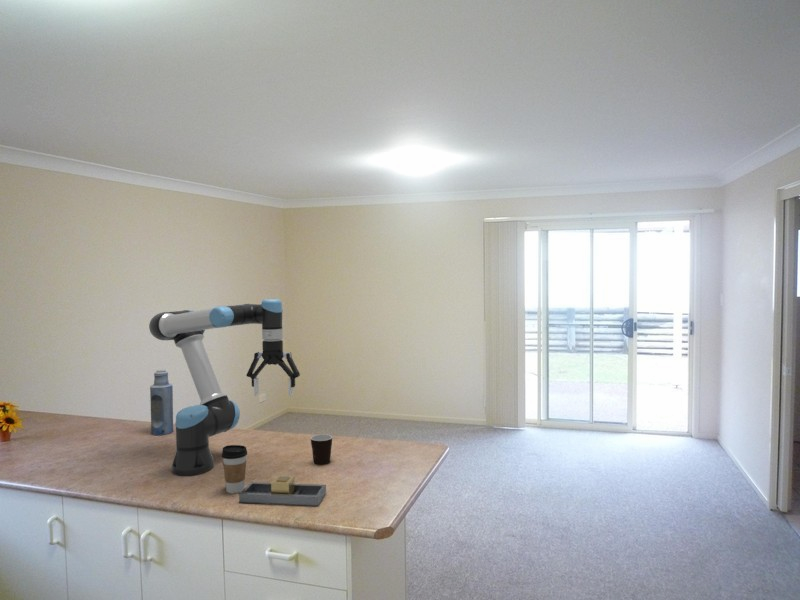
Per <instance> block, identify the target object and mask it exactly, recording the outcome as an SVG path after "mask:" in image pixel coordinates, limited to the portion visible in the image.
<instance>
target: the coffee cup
mask: <svg viewBox="0 0 800 600" xmlns="http://www.w3.org/2000/svg"><path fill="white" fill-rule="evenodd" d="M247 455H248V451H247V447H246V446H245V445H240V444H229V445H226V446H223V447H222V452H221V457H222V459H223V462H222V464H223V465H222V466H223V473H224V481H225V489H226V493H228V494H238V493H240V492H242V491H243V490H244V489H245V485H246V484H245V481H246V469H247Z"/></svg>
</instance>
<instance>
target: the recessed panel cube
mask: <svg viewBox="0 0 800 600" xmlns="http://www.w3.org/2000/svg"><path fill="white" fill-rule="evenodd" d="M295 479H296V478H295V476H293V475H277V476H276V477H275V478H274V479H273V480H272V481H271V482H270V483H271V494H295V484H296V480H295Z"/></svg>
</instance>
